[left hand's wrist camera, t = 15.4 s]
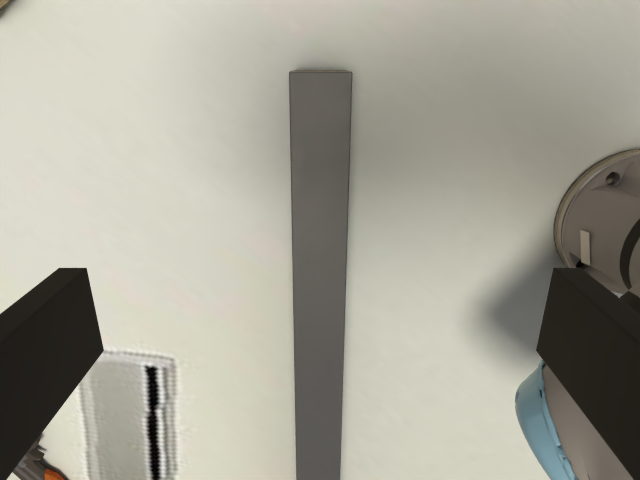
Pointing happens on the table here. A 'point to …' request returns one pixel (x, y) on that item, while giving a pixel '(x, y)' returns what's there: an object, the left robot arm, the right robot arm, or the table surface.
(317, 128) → the post
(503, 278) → the table surface
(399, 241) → the table surface
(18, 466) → the toy gun
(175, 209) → the table surface
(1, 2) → the sculpture
